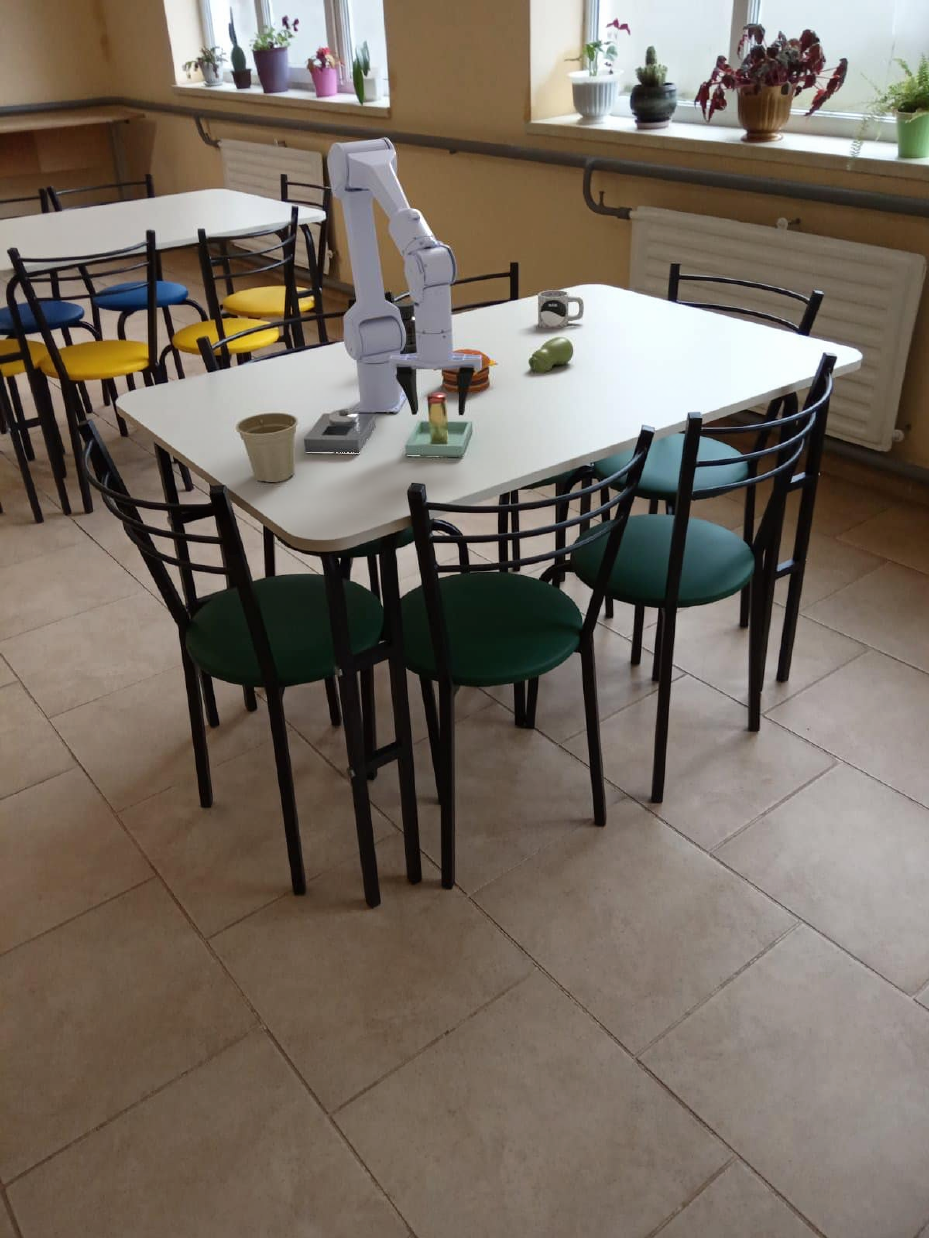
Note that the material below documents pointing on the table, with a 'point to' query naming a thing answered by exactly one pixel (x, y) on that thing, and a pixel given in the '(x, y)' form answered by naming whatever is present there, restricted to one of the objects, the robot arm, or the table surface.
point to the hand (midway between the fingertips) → (438, 413)
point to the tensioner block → (340, 432)
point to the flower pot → (270, 445)
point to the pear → (551, 354)
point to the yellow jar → (438, 418)
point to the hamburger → (479, 377)
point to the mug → (556, 308)
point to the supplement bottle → (408, 325)
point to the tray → (454, 448)
